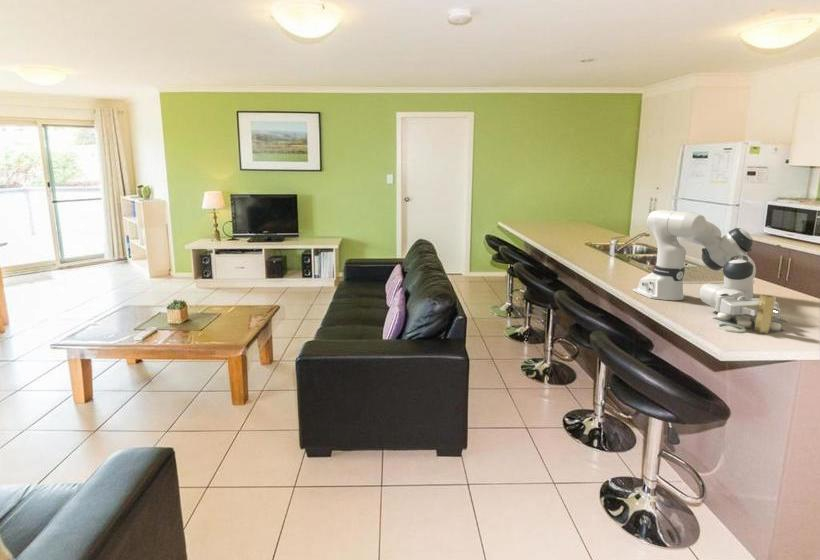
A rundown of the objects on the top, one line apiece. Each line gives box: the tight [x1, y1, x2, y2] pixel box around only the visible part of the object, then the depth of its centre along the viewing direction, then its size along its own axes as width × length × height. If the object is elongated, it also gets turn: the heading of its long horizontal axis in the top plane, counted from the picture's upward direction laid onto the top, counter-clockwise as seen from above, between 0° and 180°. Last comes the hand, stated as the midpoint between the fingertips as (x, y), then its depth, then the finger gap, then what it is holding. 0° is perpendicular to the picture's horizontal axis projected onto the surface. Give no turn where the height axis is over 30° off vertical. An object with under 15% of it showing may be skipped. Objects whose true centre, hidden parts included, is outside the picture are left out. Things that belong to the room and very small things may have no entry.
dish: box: [715, 322, 747, 334], centre depth 180 cm, size 9×9×2 cm
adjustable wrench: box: [772, 315, 788, 324], centre depth 199 cm, size 25×6×2 cm, turn 176°
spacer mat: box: [712, 312, 787, 335], centre depth 185 cm, size 20×12×3 cm, turn 19°
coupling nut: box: [754, 294, 777, 335], centre depth 176 cm, size 4×5×13 cm
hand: (767, 312), depth 175 cm, fingers open, 8 cm apart
